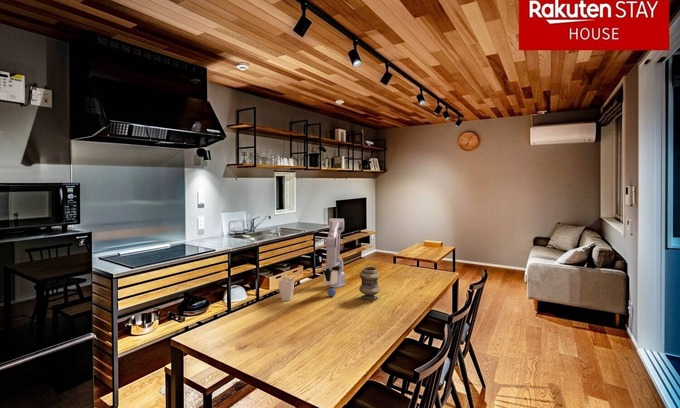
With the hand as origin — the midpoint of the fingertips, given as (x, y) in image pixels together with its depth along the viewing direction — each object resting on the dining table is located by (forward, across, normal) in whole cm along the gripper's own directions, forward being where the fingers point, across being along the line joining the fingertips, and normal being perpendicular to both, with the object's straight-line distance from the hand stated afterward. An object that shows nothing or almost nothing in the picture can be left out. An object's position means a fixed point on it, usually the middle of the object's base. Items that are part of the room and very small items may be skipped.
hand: (331, 279), depth 208 cm
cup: (+10, +20, -17) cm, 29 cm away
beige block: (+2, 0, -1) cm, 2 cm away
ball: (+7, 0, 0) cm, 7 cm away
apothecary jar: (+10, -10, +20) cm, 25 cm away
